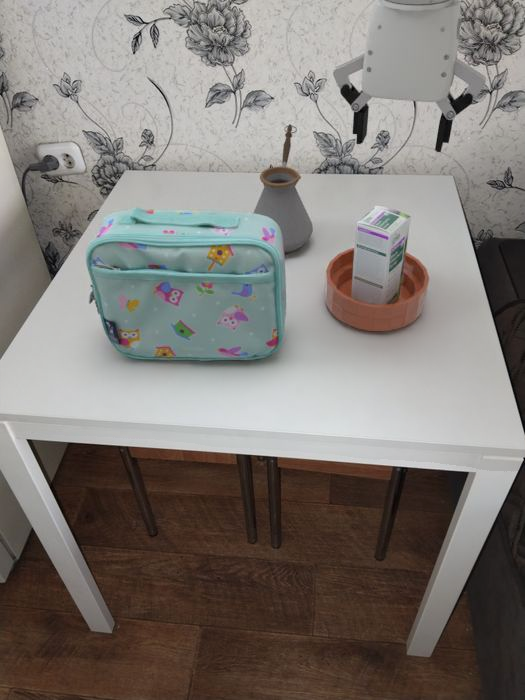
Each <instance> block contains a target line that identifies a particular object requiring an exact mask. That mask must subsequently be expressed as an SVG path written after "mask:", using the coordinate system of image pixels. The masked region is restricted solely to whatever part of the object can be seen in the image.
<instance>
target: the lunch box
mask: <svg viewBox="0 0 525 700" xmlns="http://www.w3.org/2000/svg"><path fill="white" fill-rule="evenodd" d="M253 213H254V212H253ZM253 213H252V212H239V211H228V210H227V211H226V210H225V211H222V210H221V211H220V210H199V209H198V210H197V209H196V210H195V209H194V210H193V209H192V210H191V209H160V208H159V209H152V208H151V209H142V208H141V207H139V206H135V207H134V208H133V209H128V210H120V211H115V212H112V213H109V214H107V215H105V217H104V218H103V219H102V220H101V222H100V226H99V229H98V232H97V233H96V234H95V236H94V238H93V240H92V241H91V242H90V243H89V244H88V246H87V249H86V252H85V263H86V267H87V271H88V274H89V277H90V280H91V284H90V288H91V291H90V293H89V300H88V304H89V305H91V304H92V303H93V301H94V304H95V307H96V311H97V314H98V315H99V317H100V320H101V324H102V327H103V331H104V333H105V335H106V337H107V339H108V341H109V343H110V344H111V345H112V346H113V348H114V349H115V350H116V351H117V352H118V353H120V354H121V355H123V356H125V357H127V358H131V359H136V360H159V361H162V360H164V361H165V360H166V361H199V362H201V361H202V362H204V361H205V362H206V361H216V360H217V361H226V360H228V361H230V360H231V361H232V360H233V361H234V360H240V361H248V360H249V361H251V360H259V359H264V358H266V357H269V356H270V355H272V354H274V353H275V352H276V351H278V350H279V348H280V347H281V345H282V343H283V339H284V333H285V322H286V314H287V282H286V281H287V280H286V278H287V277H286V259H285V253H284V244H283V238H282V233H281V230H280V228H279V226H278V224H277V223H276V222H275V221H274V220H273V219H271V218H269V217H267V216H264V215H260V214H253Z"/></svg>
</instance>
